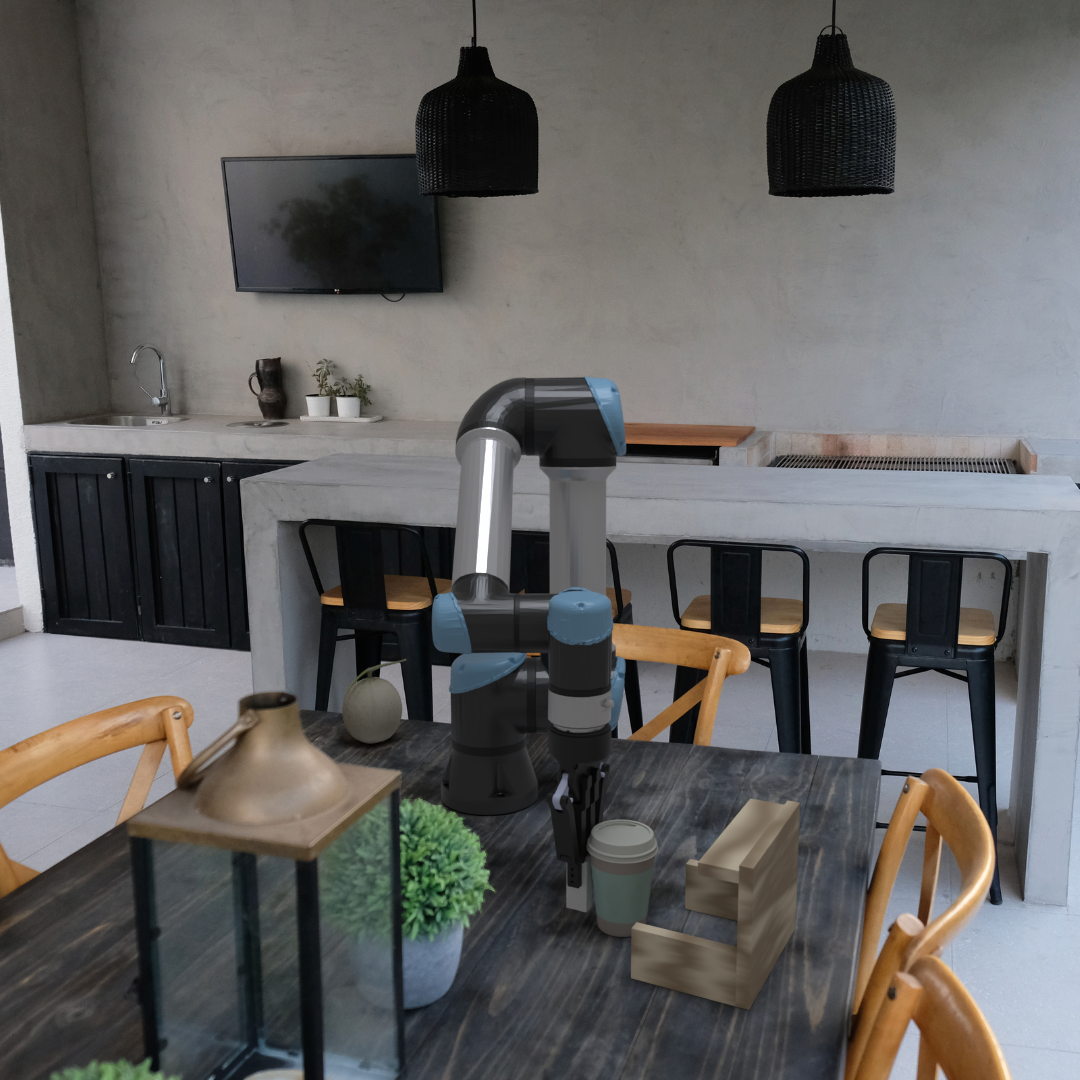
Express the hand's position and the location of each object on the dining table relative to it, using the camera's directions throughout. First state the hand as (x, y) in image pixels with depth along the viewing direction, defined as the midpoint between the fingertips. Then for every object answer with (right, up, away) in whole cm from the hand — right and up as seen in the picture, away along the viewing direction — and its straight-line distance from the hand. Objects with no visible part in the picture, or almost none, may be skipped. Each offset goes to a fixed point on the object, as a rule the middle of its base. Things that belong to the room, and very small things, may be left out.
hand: (579, 907), depth 138 cm
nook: (+16, -3, -8) cm, 18 cm away
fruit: (-35, +9, +63) cm, 72 cm away
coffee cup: (+5, -2, -1) cm, 6 cm away
